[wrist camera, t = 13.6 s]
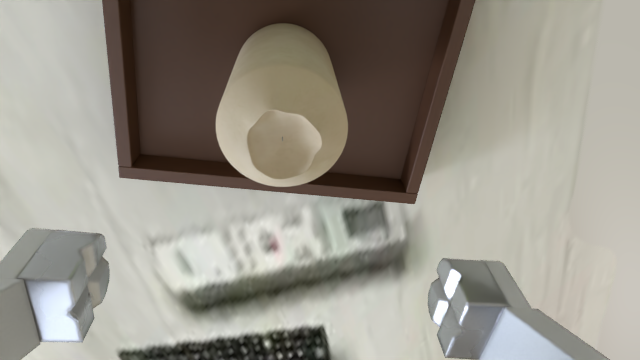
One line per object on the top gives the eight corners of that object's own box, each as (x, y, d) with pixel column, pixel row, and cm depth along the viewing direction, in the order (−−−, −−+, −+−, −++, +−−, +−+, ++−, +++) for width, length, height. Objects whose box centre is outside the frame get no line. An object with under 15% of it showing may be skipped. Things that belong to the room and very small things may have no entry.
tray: (111, -104, 22) (91, -107, 19) (469, -46, 24) (488, -42, 22) (132, 158, 29) (119, 178, 27) (406, 183, 31) (414, 204, 29)
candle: (227, 28, 24) (193, 87, 16) (326, 15, 24) (346, 67, 16) (247, 120, 27) (227, 213, 19) (335, 108, 27) (357, 196, 18)
